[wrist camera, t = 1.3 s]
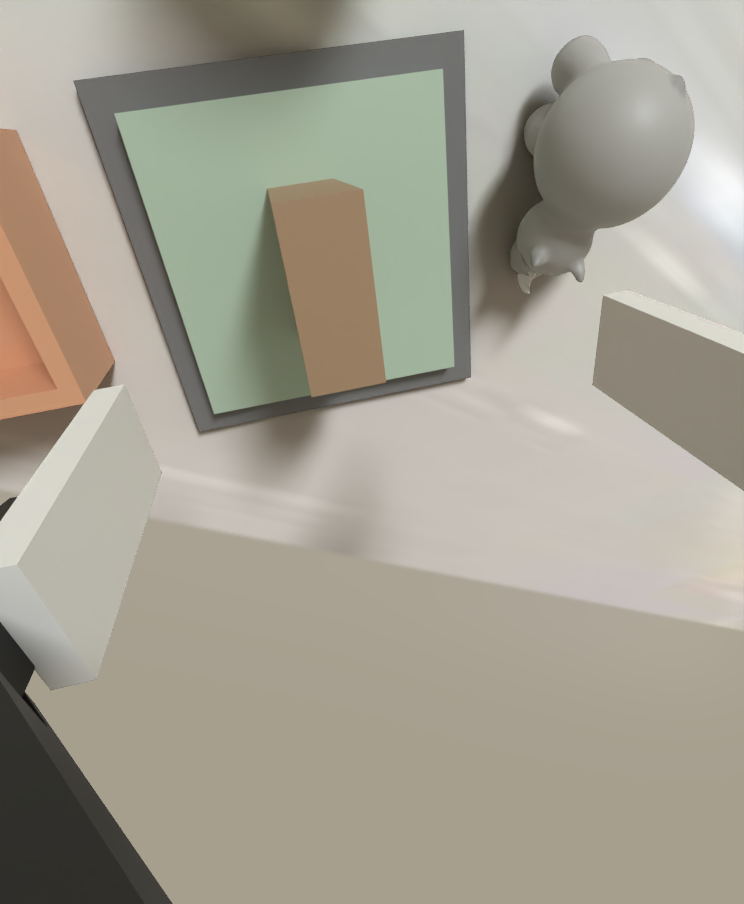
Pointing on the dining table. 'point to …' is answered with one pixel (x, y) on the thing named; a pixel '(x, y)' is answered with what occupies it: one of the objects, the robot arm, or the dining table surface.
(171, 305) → the mat
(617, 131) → the round bodied animal figurine
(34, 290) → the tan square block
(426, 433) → the dining table surface
